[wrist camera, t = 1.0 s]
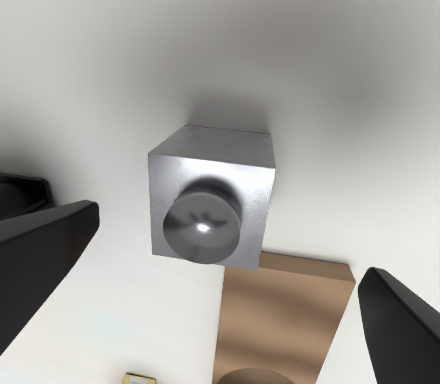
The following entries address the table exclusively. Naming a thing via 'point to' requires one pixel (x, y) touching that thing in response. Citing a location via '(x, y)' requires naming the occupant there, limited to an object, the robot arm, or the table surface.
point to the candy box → (137, 380)
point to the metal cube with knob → (211, 195)
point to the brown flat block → (279, 319)
